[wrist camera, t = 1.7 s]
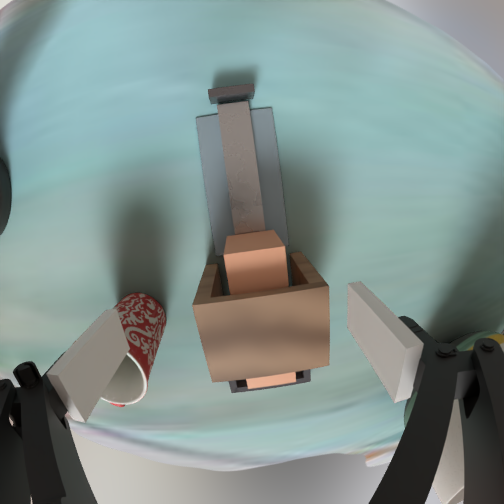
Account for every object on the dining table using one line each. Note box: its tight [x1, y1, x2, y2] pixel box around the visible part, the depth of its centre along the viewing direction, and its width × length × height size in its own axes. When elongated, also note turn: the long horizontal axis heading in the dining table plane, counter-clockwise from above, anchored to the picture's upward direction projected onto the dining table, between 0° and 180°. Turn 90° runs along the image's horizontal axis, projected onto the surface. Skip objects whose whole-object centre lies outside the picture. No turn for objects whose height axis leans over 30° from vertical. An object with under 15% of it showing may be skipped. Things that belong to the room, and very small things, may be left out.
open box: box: [192, 252, 330, 382], centre depth 31 cm, size 9×12×12 cm
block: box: [224, 230, 296, 389], centre depth 31 cm, size 16×6×8 cm, turn 8°
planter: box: [404, 331, 504, 504], centre depth 30 cm, size 27×27×27 cm
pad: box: [196, 108, 289, 256], centre depth 32 cm, size 17×9×1 cm, turn 8°
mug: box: [73, 293, 166, 407], centre depth 30 cm, size 13×9×14 cm
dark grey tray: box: [229, 369, 311, 393], centre depth 38 cm, size 9×12×2 cm
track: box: [208, 84, 265, 235], centre depth 32 cm, size 31×5×3 cm, turn 8°
